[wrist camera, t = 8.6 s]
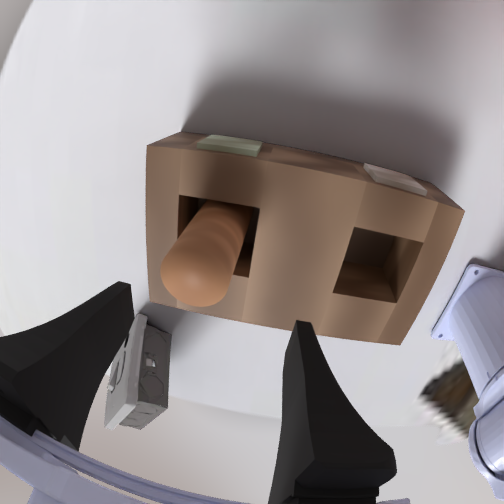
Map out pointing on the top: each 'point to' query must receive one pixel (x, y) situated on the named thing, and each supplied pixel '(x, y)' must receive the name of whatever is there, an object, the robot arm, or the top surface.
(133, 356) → the electrical switch
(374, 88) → the top surface
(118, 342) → the robot arm
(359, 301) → the socket block
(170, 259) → the peg
